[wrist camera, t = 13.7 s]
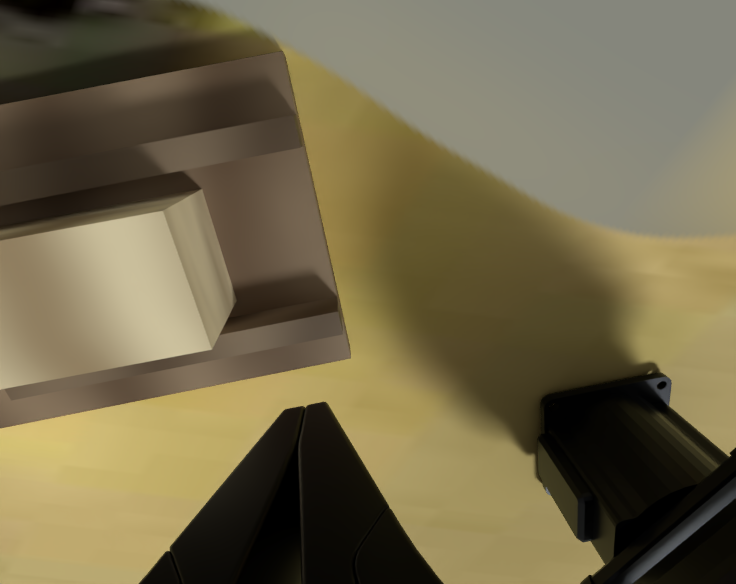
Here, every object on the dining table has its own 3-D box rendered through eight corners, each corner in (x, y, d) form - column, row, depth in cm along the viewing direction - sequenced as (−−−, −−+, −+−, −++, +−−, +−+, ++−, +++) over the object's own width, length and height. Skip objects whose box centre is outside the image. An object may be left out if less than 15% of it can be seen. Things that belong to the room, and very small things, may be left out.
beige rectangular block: (15, 342, 17) (-71, 402, 14) (-45, 233, 16) (-162, 270, 12) (236, 300, 17) (211, 349, 14) (201, 189, 16) (162, 210, 12)
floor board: (284, 54, 15) (266, 27, 11) (349, 347, 20) (356, 416, 15) (-224, 152, 15) (-471, 167, 10) (-39, 424, 20) (-152, 519, 15)
